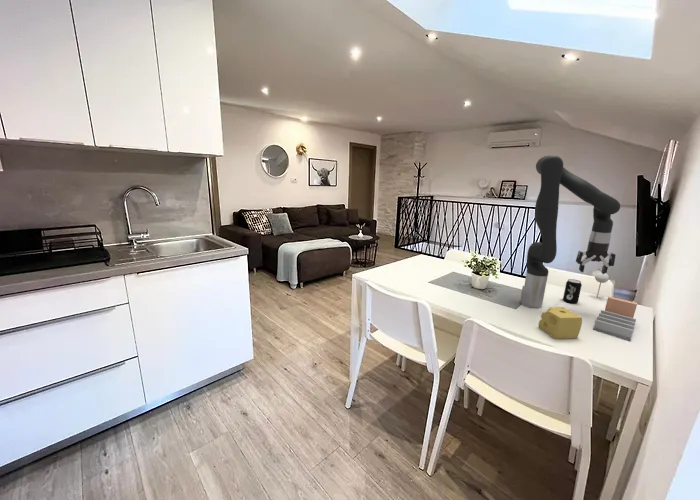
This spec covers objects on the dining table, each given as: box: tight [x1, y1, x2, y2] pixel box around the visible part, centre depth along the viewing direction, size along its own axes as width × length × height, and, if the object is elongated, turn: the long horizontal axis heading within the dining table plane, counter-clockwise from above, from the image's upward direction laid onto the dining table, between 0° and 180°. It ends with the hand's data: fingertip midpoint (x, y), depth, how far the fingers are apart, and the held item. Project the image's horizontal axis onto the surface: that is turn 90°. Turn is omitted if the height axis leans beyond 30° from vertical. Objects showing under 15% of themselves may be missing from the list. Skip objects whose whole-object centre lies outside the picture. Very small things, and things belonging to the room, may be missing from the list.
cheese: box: [538, 306, 583, 340], centre depth 123 cm, size 10×11×10 cm
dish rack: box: [592, 309, 637, 342], centre depth 127 cm, size 17×12×4 cm
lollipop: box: [594, 271, 610, 299], centre depth 159 cm, size 6×6×15 cm
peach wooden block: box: [604, 296, 638, 318], centre depth 135 cm, size 2×10×10 cm, turn 42°
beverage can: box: [562, 278, 583, 305], centre depth 154 cm, size 7×7×12 cm
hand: (592, 272), depth 140 cm, fingers open, 8 cm apart
